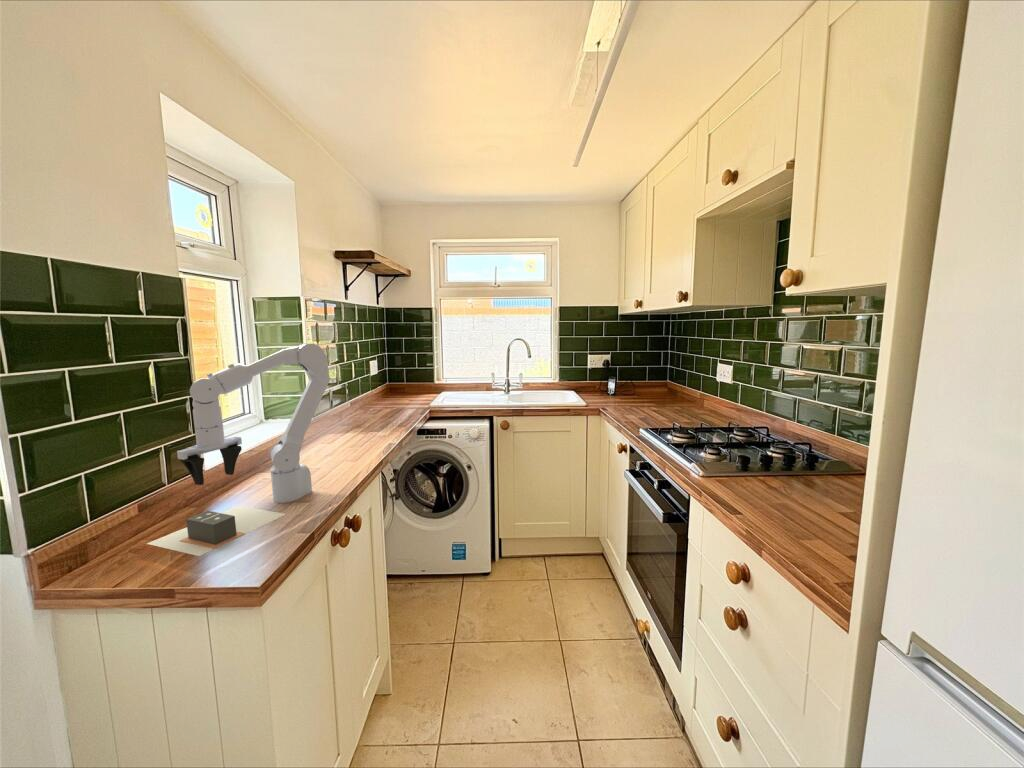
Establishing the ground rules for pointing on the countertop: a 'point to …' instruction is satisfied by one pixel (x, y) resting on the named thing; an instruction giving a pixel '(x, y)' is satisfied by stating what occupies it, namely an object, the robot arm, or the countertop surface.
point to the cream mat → (244, 523)
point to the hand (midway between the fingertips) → (215, 479)
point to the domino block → (211, 527)
